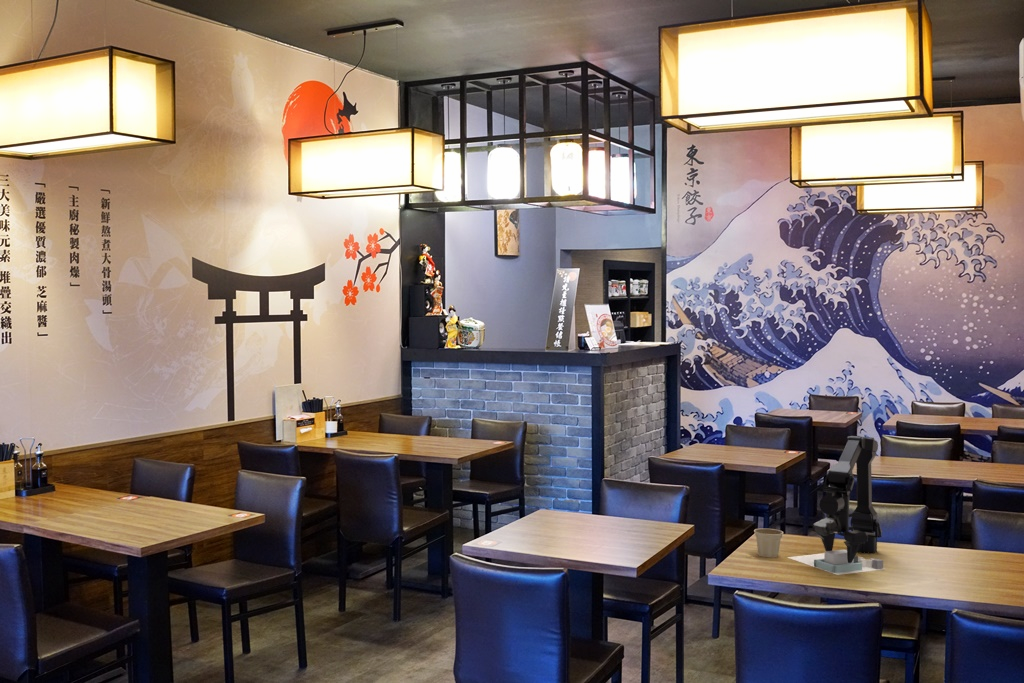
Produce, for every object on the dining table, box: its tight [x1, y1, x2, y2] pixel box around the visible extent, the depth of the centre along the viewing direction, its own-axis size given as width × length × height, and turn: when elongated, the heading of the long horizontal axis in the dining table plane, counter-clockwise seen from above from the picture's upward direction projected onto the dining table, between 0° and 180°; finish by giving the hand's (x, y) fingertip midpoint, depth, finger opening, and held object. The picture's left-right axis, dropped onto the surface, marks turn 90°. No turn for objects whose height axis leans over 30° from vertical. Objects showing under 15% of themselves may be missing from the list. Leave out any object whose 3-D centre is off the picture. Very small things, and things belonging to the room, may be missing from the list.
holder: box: [814, 559, 862, 574], centre depth 291 cm, size 9×11×2 cm
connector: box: [824, 549, 859, 566], centre depth 291 cm, size 4×11×5 cm, turn 112°
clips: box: [858, 557, 874, 568], centre depth 294 cm, size 5×5×2 cm
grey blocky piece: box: [858, 558, 884, 570], centre depth 292 cm, size 5×6×3 cm
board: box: [786, 552, 885, 576], centre depth 297 cm, size 19×24×1 cm
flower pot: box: [753, 528, 784, 558], centre depth 308 cm, size 9×9×9 cm
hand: (839, 559), depth 291 cm, fingers open, 9 cm apart
